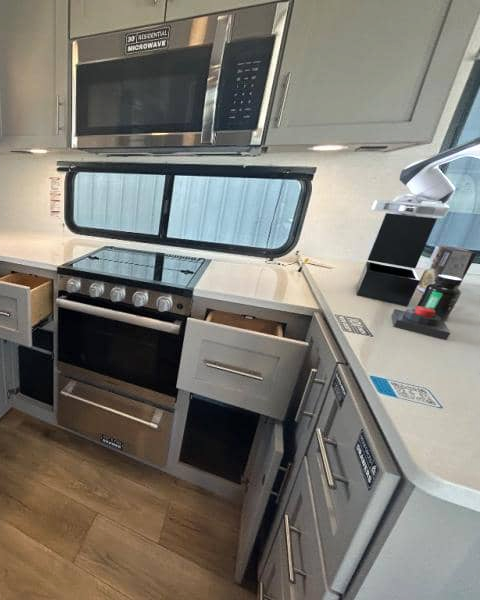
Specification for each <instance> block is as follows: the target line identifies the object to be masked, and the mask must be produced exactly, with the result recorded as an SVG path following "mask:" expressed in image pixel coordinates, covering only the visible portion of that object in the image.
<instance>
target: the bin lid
mask: <svg viewBox="0 0 480 600" xmlns="http://www.w3.org/2000/svg"><path fill="white" fill-rule="evenodd" d="M437 220H438V218H428V217H419V216H409V215H400V214H392V213H391V212H385V214H384V216H383V220H382V222H381V224H380V227H379V229H378V232H377V234H376V236H375V239H374V241H373V245H372V246H371V249H370V252H369V254H368V257H367V259H366V261H368V262H373V263H379V264H385V265H391V266H397V267H402V268H408V269H416V267H417V266H418V264H419V261H420V259H421V256H422V254H423V252H424V249H425V248H426V245H427V243H428V241H429V238H430V237H431V234H432V232H433V229H434V227H435V225H436V222H437Z"/></svg>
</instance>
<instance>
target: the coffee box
mask: <svg viewBox="0 0 480 600" xmlns="http://www.w3.org/2000/svg"><path fill="white" fill-rule="evenodd" d="M477 254H478V252H475V251H471V250H468V249H466V248H461V247H456V246H446V245H445V246H443V245H436V246H435V247H434V250H433V252H432V254H431V256H430V258H429V260H428V262H427V265H426V267H425V269H424V271H423V272H422V275H421V277H420V278H419V280H420V282H419V284H418V286H417V288H416V290H418V291H420V292H422V293H424V291H425V289H426V287H427V286H428V285H429V284H432V283H435V282H436V281H435V279H436V278H437V276H438V275H448V276H453V277H457V278H460V279H462V281H463V280H464V279H465V277H466V274H467V273H468V271H469V269H470V267H471V265H472V264H473V262H474V260H475V258H476V256H477ZM458 289H460V286H458Z"/></svg>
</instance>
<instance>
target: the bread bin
mask: <svg viewBox="0 0 480 600" xmlns="http://www.w3.org/2000/svg"><path fill="white" fill-rule="evenodd" d="M419 282H420V278H419V276H418V274H417V272H416V270H415V269H413V268H408V267H402V266H396V265H391V264H385V263H379V262H373V261H366V262H365V264H364V267H363V269H362V272H361V274H360V277H359V279H358V281H357V284H356V295H355V296H358V297H362V298H366V299H371V300H375V301H380V302H383V303H388V304H393V305H397V306H401V307H406V308H407V307H408V306H409V304H410V302H411V300H412V298H413V296H414V294H415V292H416V290H417V286H418V284H419Z"/></svg>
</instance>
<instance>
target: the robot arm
mask: <svg viewBox="0 0 480 600" xmlns="http://www.w3.org/2000/svg"><path fill="white" fill-rule="evenodd" d="M463 157H474V158H477V159H480V136H479V137H476V138H474V139H471V140H468V141H466V142H463V143H461V144H459V145H456V146H452V147H450V148H449V149H446V150H444V151H441V152H439V153H436V154H433V155H431V156H429V157H426V158H422V159H419V160H416V161H414V162H412V163H410V164H408V165H406V166H405V167H404V168H403V169H401V171H400V174H399V181H400V182H401V183H402V184H403V185H404V186H405V187H407V189H408V190H409V191H410V192H411V193H412V194H410V193H405V194H400V195H397V196H396V197H394V198H393V199H392V200H386V199H375V200H374V202H372V203H371V205H372V206H371V210H372V211H378V212H385V213H391V214H400V215H409V216H419V217H428V218H437V219H439V218H441V219H442V218H446V216H447V214H448V212H449V210H450V206H449V205H448V204H446V202H448V201H449V200H451V198H452V197H453V196H454V195H455V192H456V189H457V188H456V187H455V186H454V185H453V183H452V182H451V181H450V180H449V178H447V177H446V175H445V174H444V173H443V172H442V171H441V169H440V168H439V166H441V165H443V164H447V163H449V162H451V161H454V160H457V159H459V158H460V159H461V158H463Z"/></svg>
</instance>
